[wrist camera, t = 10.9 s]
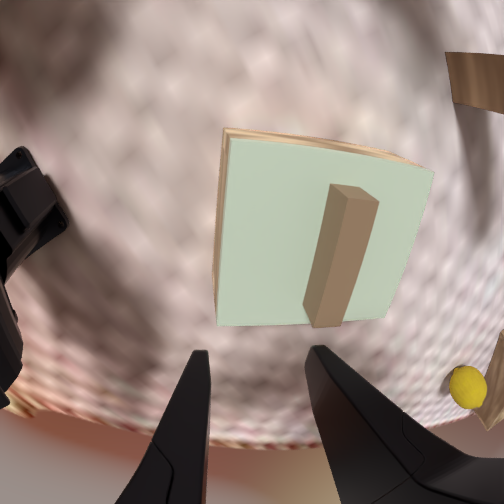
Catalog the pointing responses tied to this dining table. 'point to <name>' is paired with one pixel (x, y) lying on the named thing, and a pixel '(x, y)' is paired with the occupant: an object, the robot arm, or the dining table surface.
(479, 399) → the lemon
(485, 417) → the bread crate
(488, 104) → the tan rectangular bar
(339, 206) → the lid
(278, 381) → the dining table surface
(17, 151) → the robot arm
